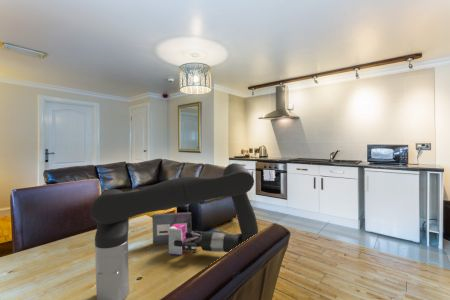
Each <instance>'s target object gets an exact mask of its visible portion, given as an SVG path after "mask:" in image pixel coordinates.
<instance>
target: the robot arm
mask: <svg viewBox="0 0 450 300" xmlns="http://www.w3.org/2000/svg"><path fill="white" fill-rule="evenodd" d="M254 184H255V179H254V176H253V174H252V173H251V172H250V171H249V170H248V169H247V168H245V167H244V166H243V165H241V164H239V163H237V162H236V163H235V162H234V163H230V164H228V165H227V166H226V167H225V168H224V169H223V173H222V175H221V176H217V177H200V176H180V177H178V178H177V177H176V178H171V179H167V180H165V181H161V182H159V183H156V184H153V185H151V186H147V187H146V188H141V189H138V190H134V191H128V192H123V191H122V190H120V189H118V188H117V189H116V188H112V189H107V190H105V191H104V192H102V193H101V194H99V196H97V197H96V199H94V201H93V202H92V204H91V206H90V210H89V212H90V217H91V218H92V219H93V221H95V222H96V224H97V226H96V232H95V235H94V252H95V255H94V256H95V257H94V258H95V261H94V263H95V287H96V289H95V290H96V300H125V299H126V298H127V297H128V296H129V294H130V274H129V273H130V269H129V225H130V222H129V221H130V220H129V218H132V217H136V216H139V215H143V214H146V213H154V212H159V211H163V210H168V209H173V208H179V207H184V206H188V205H191V204H196V203H198V202H203V201H209V200H213V199H218V198H225V197H231V199H232V203H233V206H234V209H235V214H236V217H237V218H236V219H237V221H238V225H239V226H238V227H239V229H240V233H236V234H231V233H222V232H213V231H201V230H193V231H191V233H186V238H190V237H191V238H190V239H188V240H186V241H179V240H175V241H174V246H180V247H182V250H185V251H193V252H195V251H197V249H198V248H201V250H202V251H203V252H213V253H230V252H229V251H230V250H231V249H233V248H235V247H236V246H238V245H239V244H241V243H242V242H244V241H246V240H247V239H249V238H250V237H252V236H253V235H255V234H257V233H258V234H259V226H258V222H257V221H258V220H257V218H256V213H255V212H254V209H253V206H252V204H251V201H250V199H249V196H248V192H249V191H251V190H252V189H253V186H254Z"/></svg>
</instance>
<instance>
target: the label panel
mask: <svg viewBox="0 0 450 300" xmlns="http://www.w3.org/2000/svg"><path fill="white" fill-rule="evenodd" d="M151 216H152V219H151V220H152V246H153V245H154V246H156V245H169V228H170V227H171V226H173V225H174V224H179V225H186V233H191V232H192V212H190V211H188V212H175V213H174V212H173V213H172V212H171V213H153V214H152V215H151ZM190 238H191V237H190ZM190 238H186V240H188V239H190Z"/></svg>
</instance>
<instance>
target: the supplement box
mask: <svg viewBox="0 0 450 300" xmlns="http://www.w3.org/2000/svg"><path fill="white" fill-rule="evenodd" d="M175 240H179V241H186V225H179V224H174V225H173V226H171V227H170V228H169V244H168V255H170V256H179V257H180V256H182V255H183V253H184V252H185V251H186V250H182V247H180V246H174V241H175Z"/></svg>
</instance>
